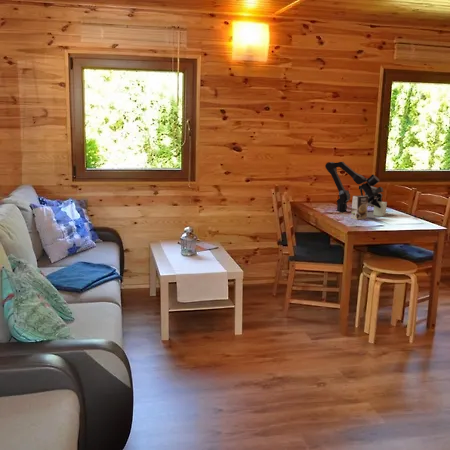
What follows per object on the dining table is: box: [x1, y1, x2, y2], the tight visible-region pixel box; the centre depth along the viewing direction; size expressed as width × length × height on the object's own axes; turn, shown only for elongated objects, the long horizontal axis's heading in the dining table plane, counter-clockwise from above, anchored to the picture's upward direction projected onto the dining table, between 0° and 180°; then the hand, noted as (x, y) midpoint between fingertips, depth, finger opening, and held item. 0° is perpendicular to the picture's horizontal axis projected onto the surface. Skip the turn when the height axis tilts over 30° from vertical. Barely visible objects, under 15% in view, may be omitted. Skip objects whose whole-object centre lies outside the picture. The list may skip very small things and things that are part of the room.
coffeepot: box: [359, 186, 378, 208], centre depth 421 cm, size 15×9×18 cm, turn 103°
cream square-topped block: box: [373, 200, 388, 216], centre depth 377 cm, size 7×7×10 cm
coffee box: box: [350, 194, 368, 221], centre depth 364 cm, size 9×6×16 cm
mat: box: [367, 211, 397, 219], centre depth 382 cm, size 24×20×1 cm
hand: (382, 207), depth 376 cm, fingers closed on cream square-topped block, 7 cm apart
